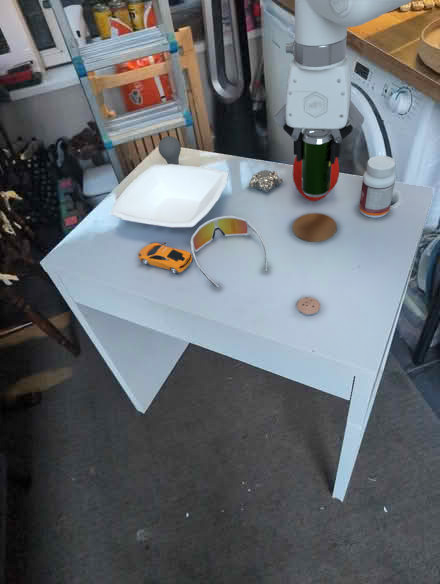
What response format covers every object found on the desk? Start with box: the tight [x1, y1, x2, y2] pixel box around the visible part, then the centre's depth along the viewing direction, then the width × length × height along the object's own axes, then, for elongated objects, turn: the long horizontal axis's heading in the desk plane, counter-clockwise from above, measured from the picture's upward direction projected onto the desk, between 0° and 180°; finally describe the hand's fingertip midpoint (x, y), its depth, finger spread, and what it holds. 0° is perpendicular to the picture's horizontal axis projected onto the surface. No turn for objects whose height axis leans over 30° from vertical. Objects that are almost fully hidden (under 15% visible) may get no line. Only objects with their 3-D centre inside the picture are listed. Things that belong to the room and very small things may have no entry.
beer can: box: [302, 129, 333, 197], centre depth 79 cm, size 5×5×12 cm
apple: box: [292, 155, 340, 202], centre depth 93 cm, size 10×10×12 cm
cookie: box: [296, 296, 321, 315], centre depth 75 cm, size 4×4×1 cm
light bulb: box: [157, 135, 182, 165], centre depth 109 cm, size 6×6×10 cm
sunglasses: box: [189, 215, 268, 288], centre depth 86 cm, size 14×15×5 cm
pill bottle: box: [358, 155, 396, 219], centre depth 88 cm, size 6×6×11 cm
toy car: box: [137, 242, 194, 275], centre depth 88 cm, size 6×12×3 cm, turn 61°
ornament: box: [248, 169, 283, 192], centre depth 101 cm, size 8×7×4 cm
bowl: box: [109, 163, 229, 228], centre depth 98 cm, size 22×23×6 cm
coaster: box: [292, 212, 338, 243], centre depth 90 cm, size 9×9×1 cm
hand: (316, 158), depth 79 cm, fingers closed on beer can, 5 cm apart
